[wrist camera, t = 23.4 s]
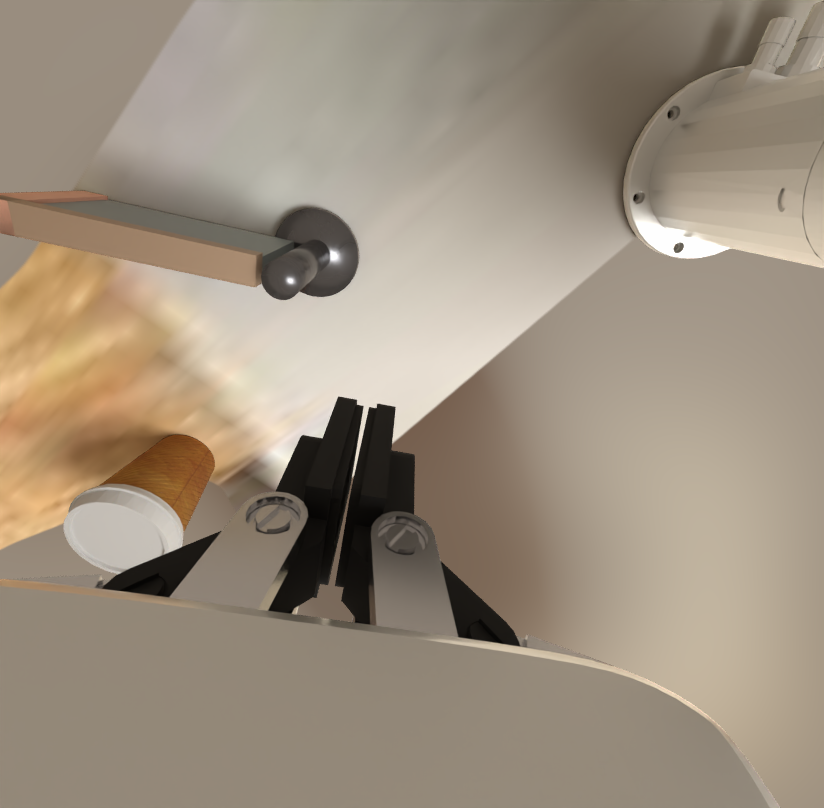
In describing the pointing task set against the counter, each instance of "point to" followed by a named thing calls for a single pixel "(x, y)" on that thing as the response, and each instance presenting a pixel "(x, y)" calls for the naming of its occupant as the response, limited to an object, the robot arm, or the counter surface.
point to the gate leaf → (140, 234)
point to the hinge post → (312, 256)
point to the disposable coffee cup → (141, 506)
